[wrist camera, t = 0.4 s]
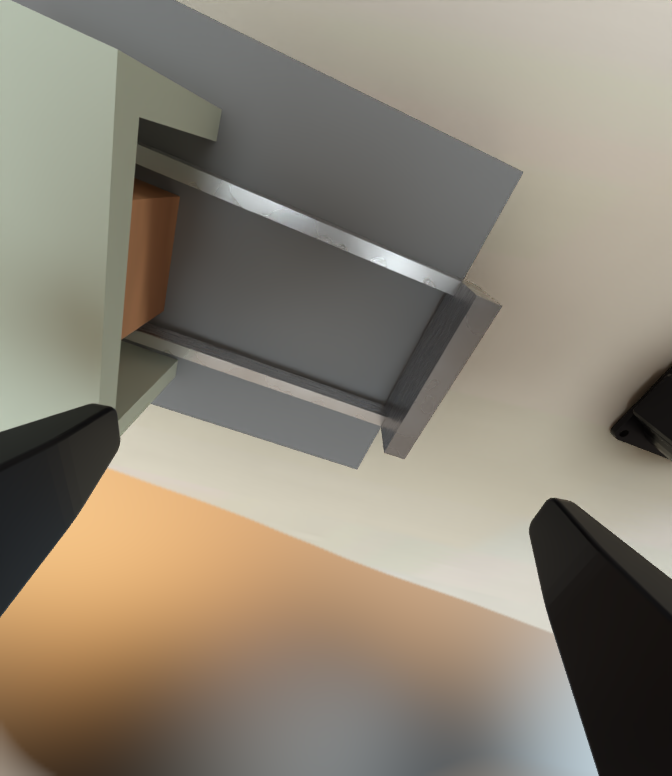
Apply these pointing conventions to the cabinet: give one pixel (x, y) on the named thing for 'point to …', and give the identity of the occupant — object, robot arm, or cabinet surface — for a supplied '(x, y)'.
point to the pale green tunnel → (74, 217)
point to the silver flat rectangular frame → (458, 307)
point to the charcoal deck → (288, 246)
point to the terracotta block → (148, 254)
